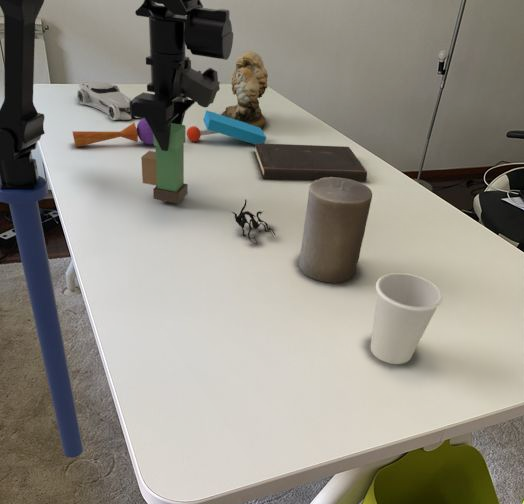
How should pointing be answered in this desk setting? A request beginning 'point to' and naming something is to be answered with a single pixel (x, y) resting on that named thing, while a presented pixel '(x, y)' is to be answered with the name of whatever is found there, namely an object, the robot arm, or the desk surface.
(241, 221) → the creature
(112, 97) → the car model
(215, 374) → the desk surface
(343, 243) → the pillar candle
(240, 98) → the brown mottled upright lump
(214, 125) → the lever
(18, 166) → the robot arm
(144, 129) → the kendama
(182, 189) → the green block pillar
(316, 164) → the hardcover book
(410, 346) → the dixie cup
